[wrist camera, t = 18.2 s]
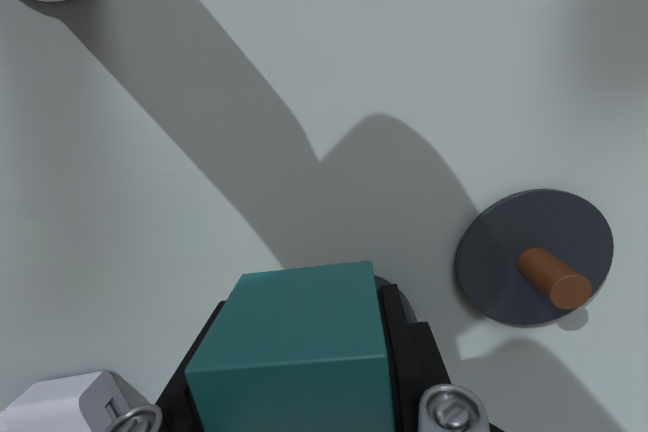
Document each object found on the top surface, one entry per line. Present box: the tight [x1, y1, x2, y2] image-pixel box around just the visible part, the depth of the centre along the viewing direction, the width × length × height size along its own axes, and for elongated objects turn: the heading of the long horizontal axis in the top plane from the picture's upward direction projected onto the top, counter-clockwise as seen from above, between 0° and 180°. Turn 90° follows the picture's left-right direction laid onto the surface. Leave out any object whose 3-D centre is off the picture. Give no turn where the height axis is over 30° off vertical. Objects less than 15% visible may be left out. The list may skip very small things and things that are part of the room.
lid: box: [456, 189, 614, 325], centre depth 27 cm, size 13×13×6 cm
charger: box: [0, 371, 130, 432], centre depth 37 cm, size 5×9×15 cm
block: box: [185, 261, 396, 432], centre depth 10 cm, size 4×4×4 cm
